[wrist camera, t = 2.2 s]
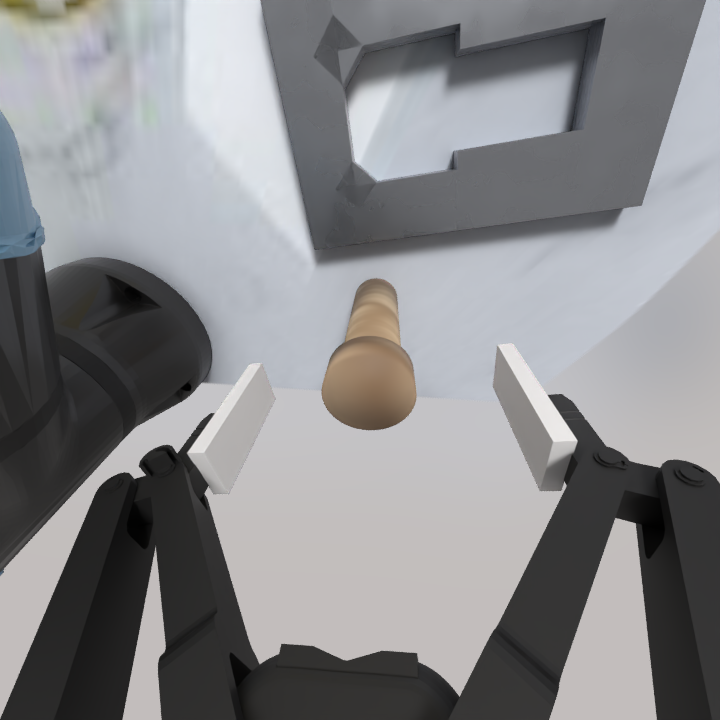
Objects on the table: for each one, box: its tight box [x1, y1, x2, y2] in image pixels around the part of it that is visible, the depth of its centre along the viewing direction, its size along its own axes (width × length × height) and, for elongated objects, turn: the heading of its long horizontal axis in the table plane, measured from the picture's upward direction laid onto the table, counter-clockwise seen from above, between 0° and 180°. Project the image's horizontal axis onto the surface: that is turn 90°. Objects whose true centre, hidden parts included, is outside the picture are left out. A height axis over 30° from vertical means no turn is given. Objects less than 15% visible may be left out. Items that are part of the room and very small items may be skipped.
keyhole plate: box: [261, 0, 706, 250], centre depth 18 cm, size 22×14×2 cm, turn 98°
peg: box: [322, 278, 416, 430], centre depth 21 cm, size 5×5×13 cm
